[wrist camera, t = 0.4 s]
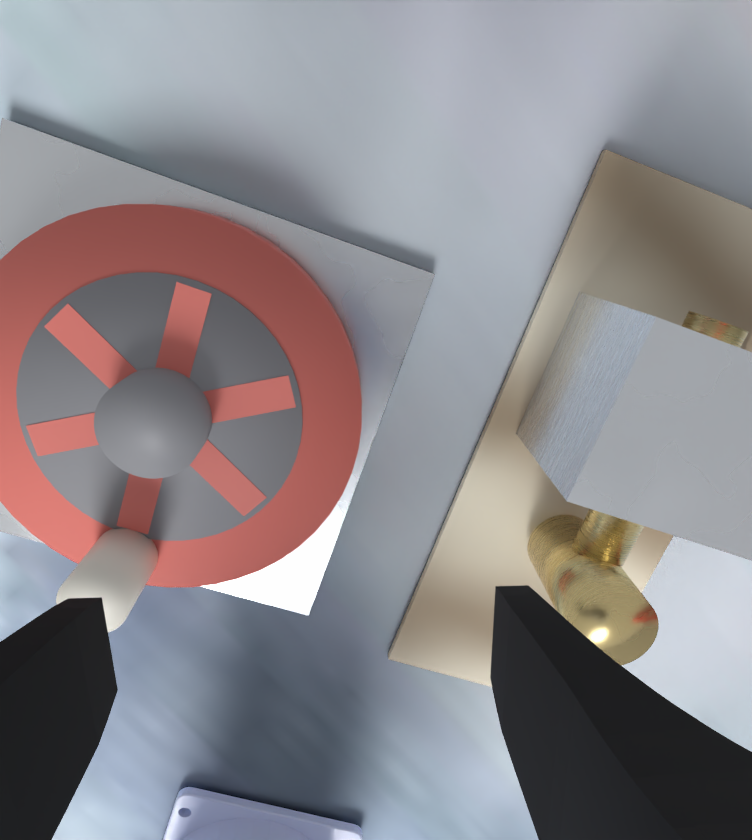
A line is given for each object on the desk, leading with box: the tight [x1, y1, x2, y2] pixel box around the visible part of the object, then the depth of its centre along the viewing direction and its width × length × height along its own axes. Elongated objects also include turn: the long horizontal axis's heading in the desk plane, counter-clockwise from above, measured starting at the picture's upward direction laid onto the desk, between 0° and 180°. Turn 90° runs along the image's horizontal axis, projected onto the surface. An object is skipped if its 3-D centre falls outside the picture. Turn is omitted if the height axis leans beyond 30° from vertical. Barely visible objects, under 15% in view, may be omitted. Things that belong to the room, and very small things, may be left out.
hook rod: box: [527, 311, 748, 665], centre depth 18 cm, size 10×2×5 cm, turn 160°
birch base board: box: [388, 150, 752, 687], centre depth 21 cm, size 19×8×1 cm, turn 161°
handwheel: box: [0, 204, 362, 633], centre depth 18 cm, size 12×12×4 cm
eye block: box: [516, 292, 752, 560], centre depth 18 cm, size 5×6×5 cm
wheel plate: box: [0, 118, 435, 616], centre depth 20 cm, size 13×13×1 cm
